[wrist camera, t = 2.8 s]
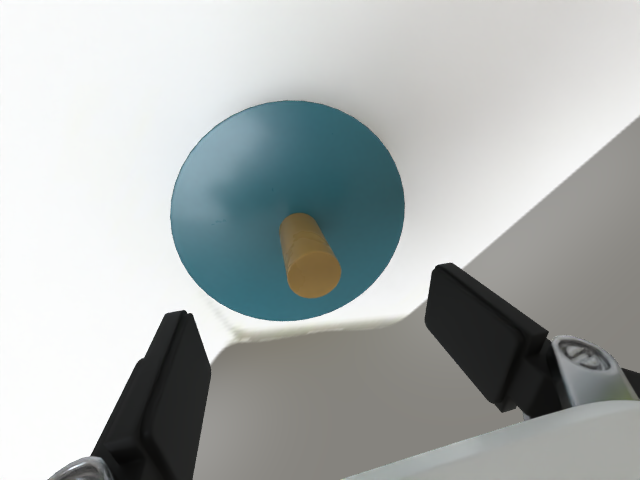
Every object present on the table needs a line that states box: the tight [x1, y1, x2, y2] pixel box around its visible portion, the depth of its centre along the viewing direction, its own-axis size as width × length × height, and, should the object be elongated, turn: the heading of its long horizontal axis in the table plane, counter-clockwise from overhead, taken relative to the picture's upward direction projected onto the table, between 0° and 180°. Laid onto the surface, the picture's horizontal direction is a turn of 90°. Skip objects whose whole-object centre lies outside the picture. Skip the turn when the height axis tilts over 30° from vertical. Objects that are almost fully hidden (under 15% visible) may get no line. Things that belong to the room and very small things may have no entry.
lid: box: [170, 100, 405, 321], centre depth 15 cm, size 15×15×7 cm
